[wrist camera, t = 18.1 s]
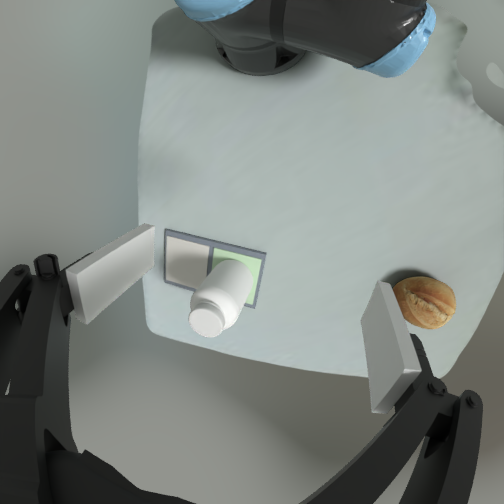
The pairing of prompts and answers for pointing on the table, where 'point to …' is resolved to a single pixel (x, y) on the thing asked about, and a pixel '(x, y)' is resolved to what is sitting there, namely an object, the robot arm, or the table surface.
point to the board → (206, 261)
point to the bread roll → (425, 301)
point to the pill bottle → (220, 298)
